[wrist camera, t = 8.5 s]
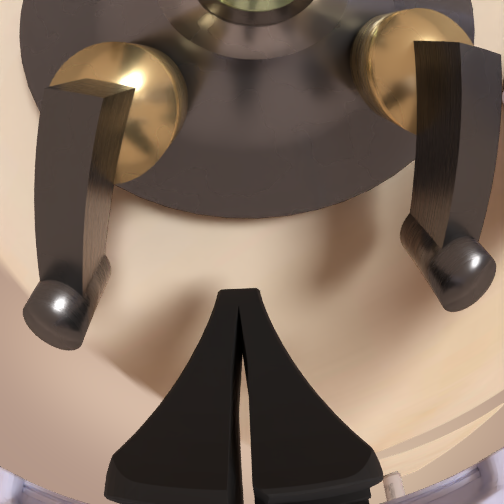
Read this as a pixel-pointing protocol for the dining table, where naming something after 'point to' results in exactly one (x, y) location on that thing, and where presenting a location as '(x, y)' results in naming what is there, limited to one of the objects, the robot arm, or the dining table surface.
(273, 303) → the dining table surface
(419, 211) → the knob
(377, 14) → the levelling plate
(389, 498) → the energy drink can
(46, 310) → the knob
